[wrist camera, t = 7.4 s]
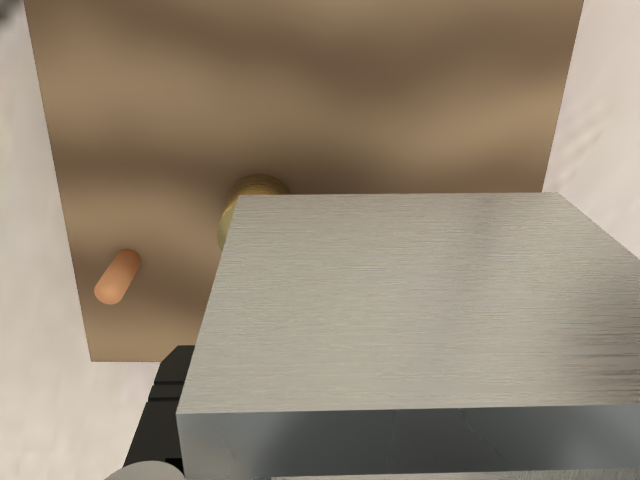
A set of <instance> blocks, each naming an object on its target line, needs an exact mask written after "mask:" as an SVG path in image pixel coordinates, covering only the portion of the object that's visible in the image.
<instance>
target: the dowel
mask: <svg viewBox="0 0 640 480" xmlns="http://www.w3.org/2000/svg"><path fill="white" fill-rule="evenodd" d="M140 265H141V258H140V256H139V254H138V253H137V252H135V251H133V250H131V249H123V250H121V251H119V252H118V253H117V255H116V256H115V258H114V259H113V261H112V262H111V264H110V265H109V267H108V268H107V270H106V271H105V273H104V274H103V275H102V277H101V278H100V280H99V281H98V283H97V284H96V286H95V288H94V293H95V296H96V298H97V299H98V300H99V301H101V302H102V303H105V304H109V305H112V304H116V303H118V302H119V301H120V300H121V299H122V297H123V296H124V294H125V292H126V290H127V288H128V287H129V285H130V283H131V281H132V280H133V278H134V276H135V274H136V273H137V271H138V269H139V267H140Z"/></svg>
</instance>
